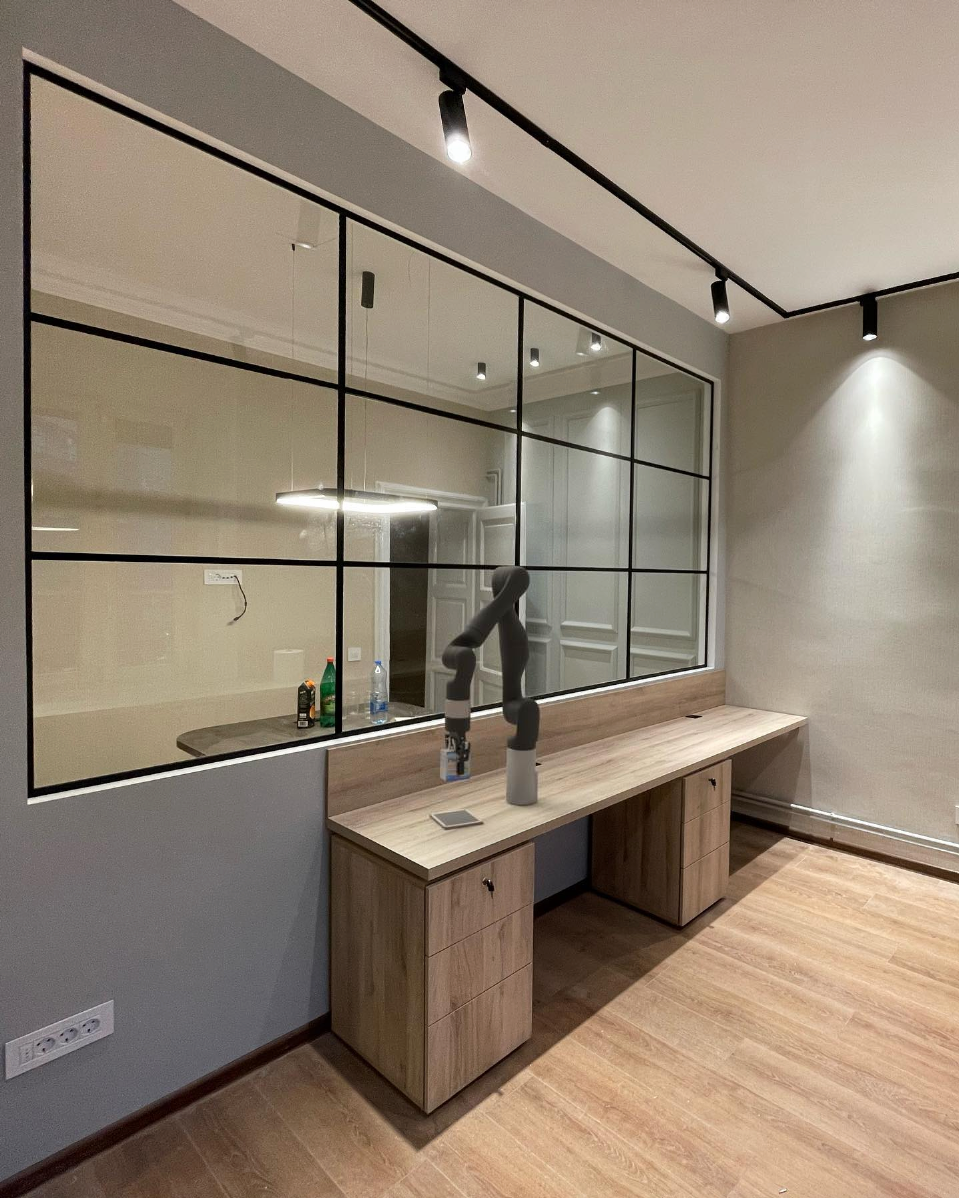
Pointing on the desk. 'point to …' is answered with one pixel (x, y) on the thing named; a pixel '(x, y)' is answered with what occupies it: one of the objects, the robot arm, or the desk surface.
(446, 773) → the medicine box
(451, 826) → the mat
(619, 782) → the desk surface
